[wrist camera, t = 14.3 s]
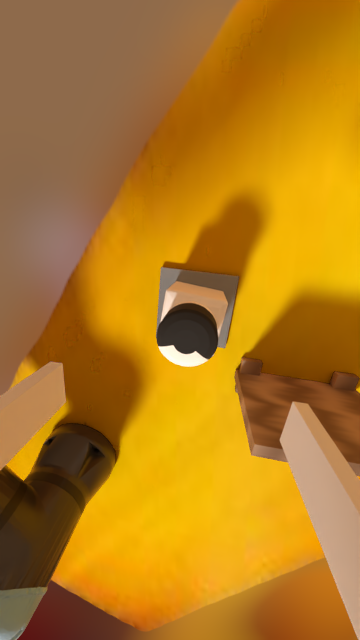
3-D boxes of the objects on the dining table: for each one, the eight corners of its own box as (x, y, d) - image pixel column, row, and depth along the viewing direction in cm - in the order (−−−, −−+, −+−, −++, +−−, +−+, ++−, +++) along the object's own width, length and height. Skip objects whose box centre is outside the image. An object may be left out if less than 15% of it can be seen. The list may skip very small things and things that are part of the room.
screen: (232, 387, 35) (246, 470, 21) (238, 356, 33) (259, 426, 20) (344, 406, 33) (435, 508, 20) (358, 375, 31) (469, 464, 18)
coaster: (157, 335, 33) (156, 337, 33) (162, 266, 30) (161, 267, 29) (224, 345, 32) (225, 348, 32) (238, 275, 29) (239, 276, 28)
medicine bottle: (175, 280, 29) (155, 297, 18) (224, 291, 29) (234, 315, 18) (167, 325, 32) (144, 365, 20) (212, 336, 31) (214, 382, 20)
